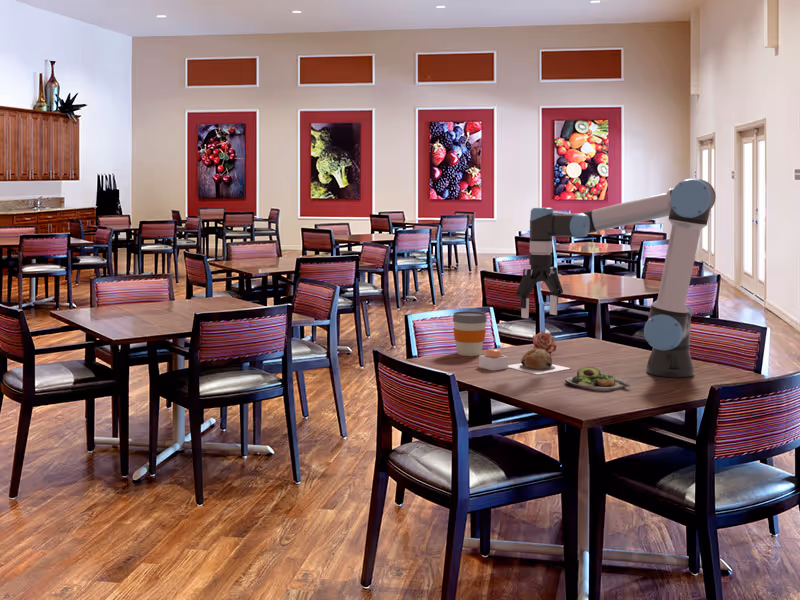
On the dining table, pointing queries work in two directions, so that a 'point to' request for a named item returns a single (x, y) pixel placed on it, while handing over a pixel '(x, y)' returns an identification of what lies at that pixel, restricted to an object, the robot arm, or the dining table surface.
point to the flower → (544, 342)
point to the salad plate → (595, 380)
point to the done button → (493, 353)
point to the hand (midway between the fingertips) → (539, 316)
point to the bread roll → (536, 359)
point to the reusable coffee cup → (469, 332)
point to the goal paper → (537, 371)
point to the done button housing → (493, 362)
